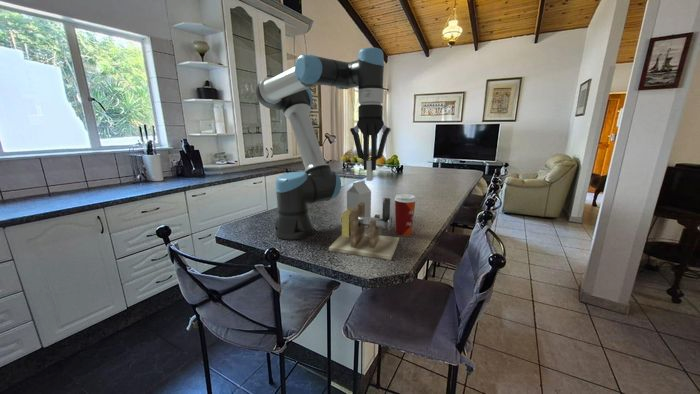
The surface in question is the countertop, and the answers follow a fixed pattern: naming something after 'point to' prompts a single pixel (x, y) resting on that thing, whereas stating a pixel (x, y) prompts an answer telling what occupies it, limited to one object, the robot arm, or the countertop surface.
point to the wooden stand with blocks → (365, 239)
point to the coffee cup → (404, 213)
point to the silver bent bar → (380, 222)
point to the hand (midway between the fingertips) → (369, 180)
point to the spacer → (346, 223)
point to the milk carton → (359, 197)
